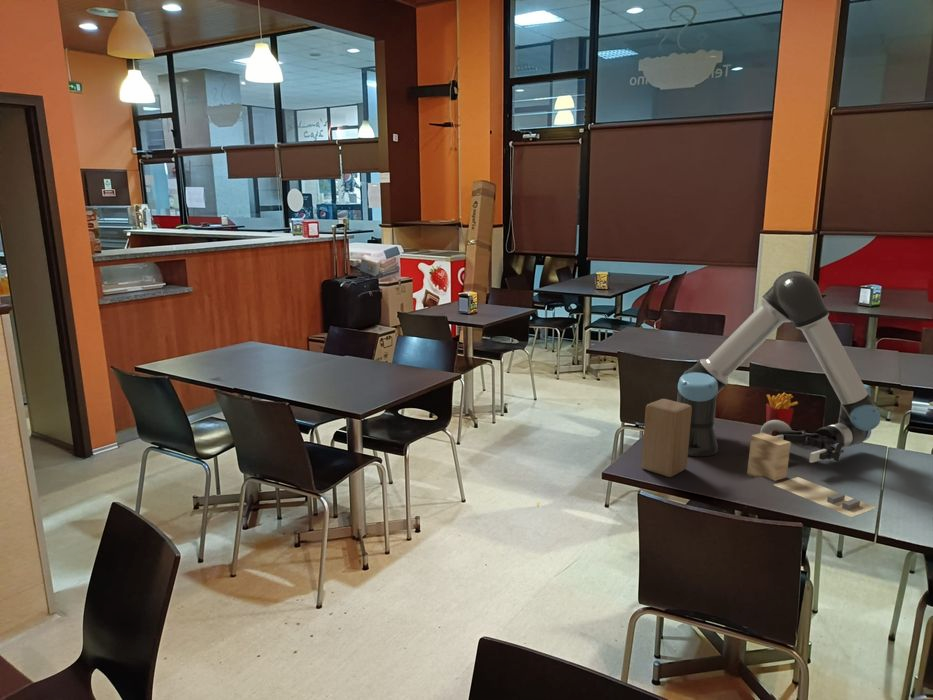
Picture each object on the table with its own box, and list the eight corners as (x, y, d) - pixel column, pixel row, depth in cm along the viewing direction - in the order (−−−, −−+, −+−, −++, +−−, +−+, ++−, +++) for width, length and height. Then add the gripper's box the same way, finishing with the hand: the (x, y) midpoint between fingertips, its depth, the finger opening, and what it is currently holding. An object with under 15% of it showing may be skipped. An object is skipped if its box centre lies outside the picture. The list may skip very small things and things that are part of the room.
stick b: (842, 507, 173) (842, 502, 173) (853, 503, 175) (854, 498, 175) (848, 510, 172) (848, 505, 171) (859, 505, 174) (860, 500, 174)
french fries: (762, 430, 234) (767, 388, 231) (785, 430, 234) (790, 388, 231) (774, 439, 225) (779, 396, 222) (798, 439, 226) (804, 396, 222)
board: (772, 489, 187) (773, 484, 186) (797, 481, 192) (797, 476, 192) (850, 522, 168) (851, 517, 168) (875, 512, 174) (876, 507, 173)
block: (639, 468, 200) (644, 404, 196) (657, 460, 207) (662, 397, 202) (670, 479, 193) (676, 412, 189) (687, 469, 200) (693, 404, 195)
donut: (756, 447, 218) (760, 418, 216) (760, 444, 221) (763, 415, 218) (789, 455, 212) (793, 425, 210) (793, 452, 214) (796, 422, 212)
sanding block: (747, 474, 197) (751, 435, 194) (758, 471, 199) (762, 432, 197) (774, 485, 189) (779, 445, 187) (785, 482, 192) (790, 442, 189)
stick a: (827, 501, 176) (827, 496, 176) (838, 497, 179) (839, 492, 178) (832, 504, 175) (833, 499, 175) (844, 499, 177) (845, 495, 177)
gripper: (871, 463, 198) (828, 477, 187) (793, 436, 219) (750, 448, 208) (875, 438, 196) (832, 451, 186) (796, 414, 217) (753, 425, 207)
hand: (789, 450), depth 197 cm, fingers open, 13 cm apart
